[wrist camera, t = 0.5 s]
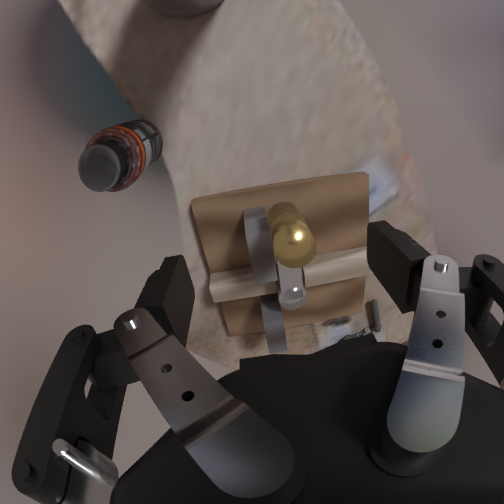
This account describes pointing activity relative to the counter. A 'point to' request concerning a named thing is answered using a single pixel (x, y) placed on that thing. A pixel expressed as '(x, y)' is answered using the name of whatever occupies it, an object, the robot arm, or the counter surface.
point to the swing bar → (290, 251)
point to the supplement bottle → (119, 155)
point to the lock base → (264, 259)
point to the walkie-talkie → (377, 329)
